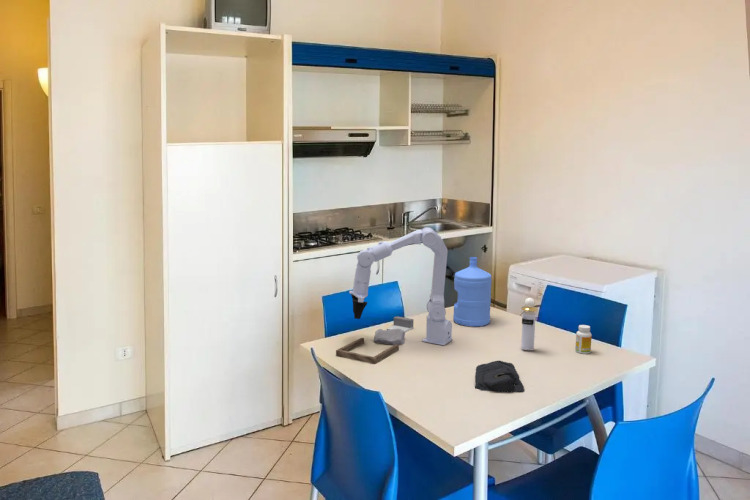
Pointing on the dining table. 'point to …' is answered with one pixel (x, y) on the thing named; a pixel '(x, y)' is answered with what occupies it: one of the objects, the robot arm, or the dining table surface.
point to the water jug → (472, 296)
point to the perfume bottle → (528, 324)
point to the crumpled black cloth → (498, 377)
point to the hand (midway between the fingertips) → (356, 315)
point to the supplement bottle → (583, 339)
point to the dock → (344, 353)
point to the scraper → (402, 324)
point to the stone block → (389, 336)
